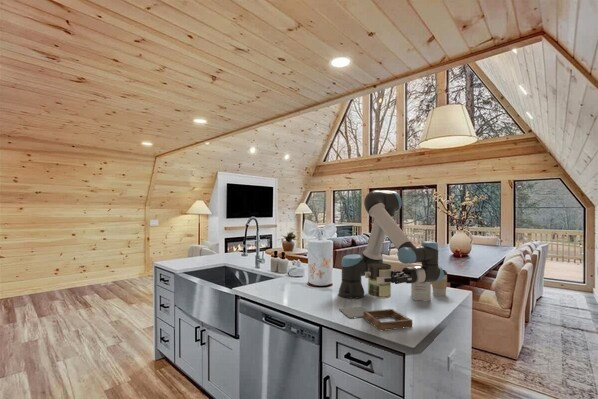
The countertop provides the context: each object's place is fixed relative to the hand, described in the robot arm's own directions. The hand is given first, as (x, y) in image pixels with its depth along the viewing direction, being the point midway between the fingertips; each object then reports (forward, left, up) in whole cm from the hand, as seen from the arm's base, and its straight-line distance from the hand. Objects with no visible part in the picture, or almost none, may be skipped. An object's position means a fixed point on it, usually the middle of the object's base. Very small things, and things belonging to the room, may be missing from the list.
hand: (371, 277), depth 139 cm
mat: (-12, -2, -20) cm, 23 cm away
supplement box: (-25, +45, -20) cm, 56 cm away
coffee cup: (-29, +61, -20) cm, 71 cm away
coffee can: (0, +4, -9) cm, 10 cm away
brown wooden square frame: (+3, +6, -20) cm, 21 cm away
